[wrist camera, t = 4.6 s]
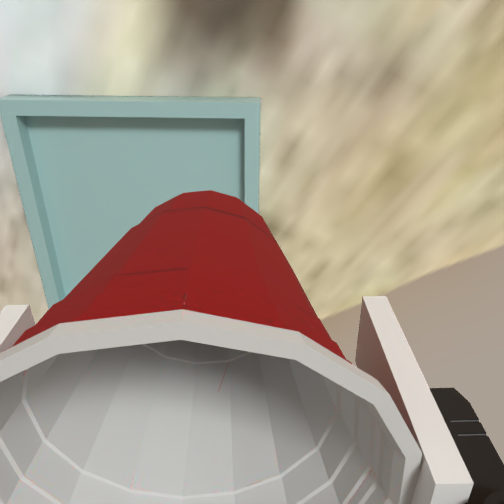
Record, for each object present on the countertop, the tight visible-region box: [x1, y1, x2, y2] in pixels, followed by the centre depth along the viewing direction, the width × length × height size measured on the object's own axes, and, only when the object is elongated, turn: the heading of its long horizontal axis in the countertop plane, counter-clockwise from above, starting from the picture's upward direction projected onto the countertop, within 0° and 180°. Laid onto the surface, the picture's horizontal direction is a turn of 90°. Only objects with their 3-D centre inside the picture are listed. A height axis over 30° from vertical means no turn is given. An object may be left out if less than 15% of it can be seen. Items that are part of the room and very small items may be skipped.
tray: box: [0, 95, 260, 309], centre depth 34 cm, size 17×17×2 cm
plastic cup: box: [0, 190, 422, 504], centre depth 15 cm, size 11×11×12 cm
